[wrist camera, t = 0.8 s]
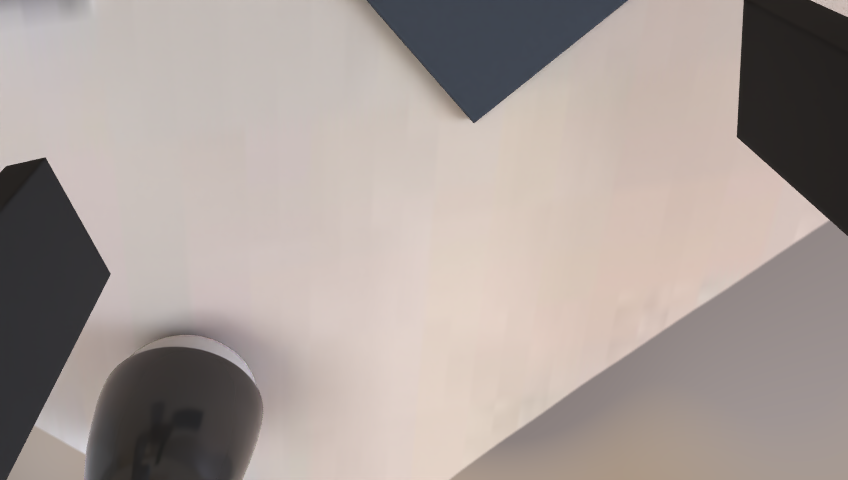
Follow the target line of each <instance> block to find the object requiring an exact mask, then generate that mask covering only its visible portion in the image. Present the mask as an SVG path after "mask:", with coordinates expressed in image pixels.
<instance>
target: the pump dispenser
mask: <svg viewBox="0 0 848 480" xmlns="http://www.w3.org/2000/svg"><path fill="white" fill-rule="evenodd" d="M262 419H263V402H262V398H261V395H260V392H259V390H258V388H257V386H256V382H255V379H254V377H253V375H252V373H251V371H250V369H249V367H248V366H247V364H246V363H245V362H244V360H243V359H242V358H241V357H240V356H239V355H238V354H237V353H236V352H234V351H233V350H232V349H230V348H229V347H227V346H226V345H224V344H222V343H220V342H218V341H216V340H213V339H210V338H206V337H202V336H196V335H176V336H170V337H165V338H162V339H159V340H156V341H154V342H151V343H149V344H147V345H146V346H144V347H142V348H141V349H139V350H138V351H136V352H135V353H134V354H133V355H132V356H130V357H129V358H128V359H126V360H125V361H123V362H122V363H120V364H119V365H118V366H117V367H116V368H115V369H114V370H113V371H112V372H111V374H110V375H109V377H108V378H107V380H106V382H105V384H104V386H103V388H102V391H101V393H100V396H99V399H98V402H97V405H96V409H95V412H94V416H93V420H92V424H91V428H90V433H89V438H88V444H87V450H86V460H85V473H84V480H242V479H243V477H244V475H245V473H246V470H247V468H248V465H249V463H250V460H251V458H252V455H253V452H254V449H255V446H256V443H257V440H258V437H259V433H260V429H261V424H262Z"/></svg>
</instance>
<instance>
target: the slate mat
mask: <svg viewBox="0 0 848 480" xmlns="http://www.w3.org/2000/svg"><path fill="white" fill-rule="evenodd" d="M367 1H368V3H369V4H370V5H371V6H372V7H373V8H374V9H375V11H376V12H377V13H378V14H379V15H380V16H381V17H382V19H383V20H384V21H385V22H386V23H387V24H388V26H389V27H390V28H391V29H392V30H393V31H394V32H395V34H396V35H397V36H398V37H399V38H400V39H401V40H402V42H403V43H404V44H405V45H406V46H407V47H408V48H409V50H410V51H411V52H412V53H413V54H414V55H415V56H416V58H417V59H418V60H419V61H420V62H421V63H422V65H423V66H424V67H425V68H426V69H427V70H428V71H429V73H430V74H431V75H432V76H433V77H434V78H435V79H436V81H437V82H438V83H439V84H440V85H441V86H442V87H443V89H444V90H445V91H446V92H447V93H448V94H449V95H450V97H451V98H452V99H453V100H454V101H455V102H456V103H457V105H458V106H459V107H460V108H461V109H462V110H463V112H464V113H465V114H466V115H467V116H468V117H469V118H470V120H471V121H472V122H473V123H475V122H476V121H477V120H479V119H480V118H481V117H482V116H484V115H485V114H486V113H487V112H489V111H490V110H491V109H492V108H494V107H495V106H496V105H497V104H499V103H500V102H501V101H502V100H504V99H505V98H506V97H507V96H509V95H510V94H511V93H512V92H514V91H515V90H516V89H517V88H519V87H520V86H521V85H522V84H524V83H525V82H526V81H527V80H529V79H530V78H531V77H532V76H534V75H535V74H536V73H537V72H539V71H540V70H541V69H542V68H544V67H545V66H546V65H547V64H549V63H550V62H551V61H552V60H554V59H555V58H556V57H557V56H559V55H560V54H561V53H562V52H564V51H565V50H566V49H567V48H569V47H570V46H571V45H572V44H574V43H575V42H576V41H577V40H579V39H580V38H581V37H582V36H584V35H585V34H586V33H588V32H589V31H590V30H591V29H593V28H594V27H595V26H596V25H598V24H599V23H600V22H601V21H603V20H604V19H605V18H606V17H608V16H609V15H610V14H611V13H613V12H614V11H615V10H616V9H618V8H619V7H620V6H621V5H623V4H624V3H625V2H626V1H628V0H367Z"/></svg>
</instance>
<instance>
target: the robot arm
mask: <svg viewBox="0 0 848 480" xmlns="http://www.w3.org/2000/svg"><path fill="white" fill-rule="evenodd" d="M737 137H738V138H739V139H740V140H741V141H742V142H743V143H744V144H745V145H747V146H748V147H749V148H750V149H751V150H752V151H753V152H754V153H756V154H757V155H758V156H759V157H760V158H761V159H762V160H763V161H764V162H766V163H767V164H768V165H769V166H770V167H771V168H772V169H773V170H775V171H776V172H777V173H778V174H779V175H780V176H781V177H782V178H784V179H785V180H786V181H787V182H788V183H789V184H790V185H791V186H792V187H794V188H795V189H796V190H797V191H798V192H799V193H800V194H801V195H803V196H804V197H805V198H806V199H807V200H808V201H809V202H810V203H811V204H813V205H814V206H815V207H816V208H817V209H818V210H819V211H820V212H822V213H823V214H824V215H825V216H826V217H827V218H828V219H829V220H830V221H832V222H833V223H834V224H835V225H836V226H837V227H838V228H839V229H841V230H842V231H843V232H844V233H845V234H846V235H847V236H848V17H846V16H844V15H842V14H839V13H837V12H835V11H833V10H830V9H828V8H826V7H824V6H822V5H819V4H817V3H815V2H813V1H811V0H744V8H743V27H742V47H741V67H740V86H739V106H738V125H737ZM109 276H110V272H109V270H108V268H107V267H106V265H105V263H104V261H103V259H102V258H101V256H100V254H99V252H98V250H97V249H96V247H95V245H94V243H93V242H92V240H91V238H90V236H89V234H88V233H87V231H86V229H85V227H84V225H83V224H82V222H81V220H80V218H79V217H78V215H77V213H76V211H75V209H74V208H73V206H72V204H71V202H70V200H69V199H68V197H67V195H66V193H65V192H64V190H63V188H62V186H61V184H60V183H59V181H58V179H57V177H56V175H55V174H54V172H53V170H52V168H51V167H50V165H49V163H48V161H47V159H46V158H41V159H36V160H32V161H27V162H23V163H19V164H14V165H10V166H6V167H5V168H4V169H3V170H2V171H1V172H0V480H6V479H7V477H8V476H9V473H10V471H11V469H12V468H13V466H14V464H15V462H16V460H17V458H18V456H19V454H20V452H21V450H22V448H23V446H24V444H25V442H26V440H27V438H28V436H29V434H30V432H31V430H32V428H33V426H34V424H35V422H36V420H37V418H38V416H39V414H40V412H41V410H42V409H43V407H44V405H45V403H46V401H47V399H48V397H49V395H50V393H51V391H52V389H53V387H54V385H55V383H56V381H57V379H58V377H59V375H60V373H61V371H62V369H63V367H64V365H65V363H66V361H67V359H68V357H69V355H70V353H71V351H72V349H73V347H74V345H75V343H76V341H77V340H78V338H79V336H80V334H81V332H82V330H83V328H84V326H85V324H86V322H87V320H88V318H89V316H90V314H91V312H92V310H93V308H94V306H95V304H96V302H97V300H98V298H99V296H100V294H101V292H102V290H103V288H104V286H105V284H106V282H107V280H108V278H109Z"/></svg>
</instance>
